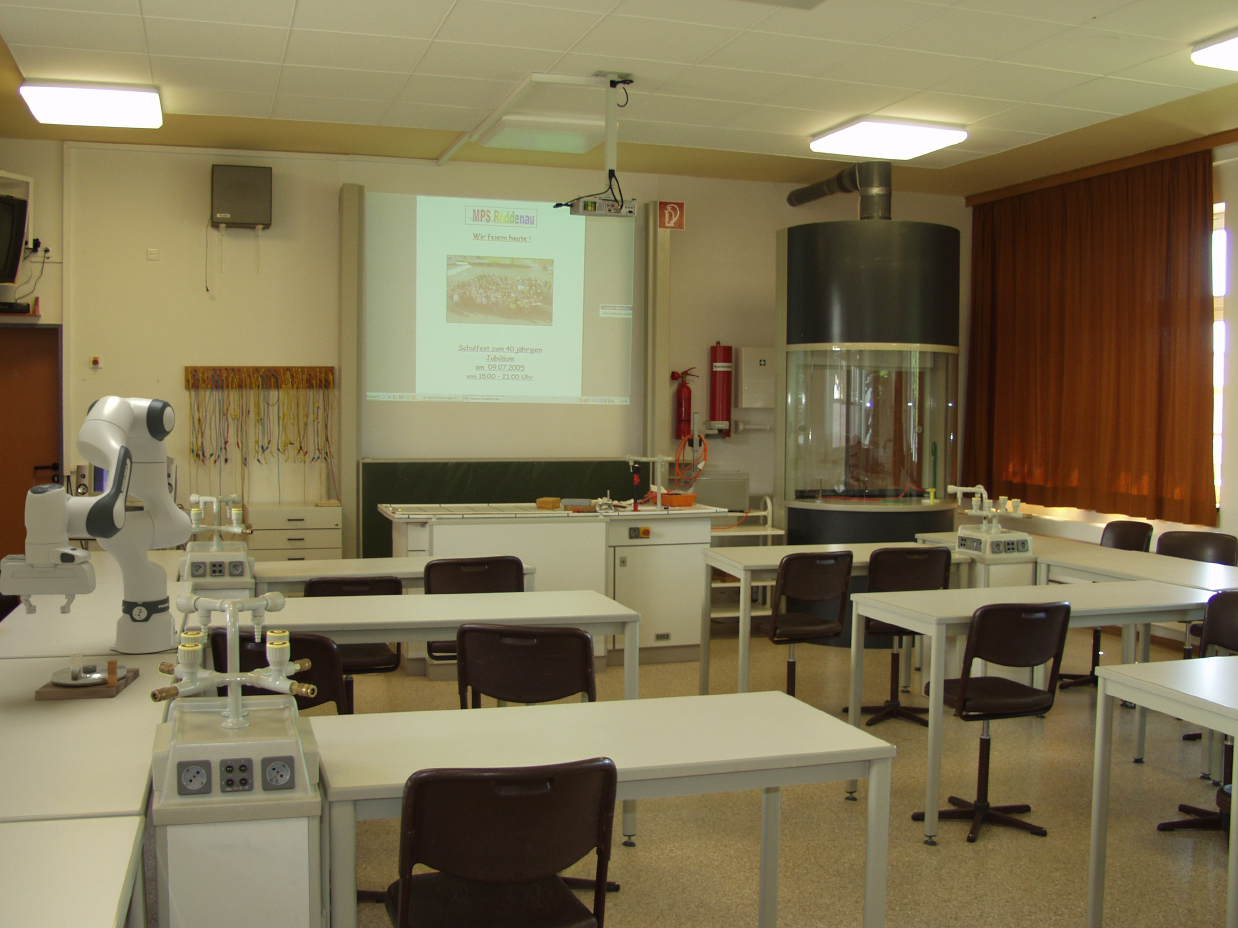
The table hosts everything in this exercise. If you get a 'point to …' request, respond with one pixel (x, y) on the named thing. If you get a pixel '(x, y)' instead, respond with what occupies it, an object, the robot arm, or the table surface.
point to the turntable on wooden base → (90, 691)
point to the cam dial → (85, 673)
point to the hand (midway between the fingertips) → (48, 613)
